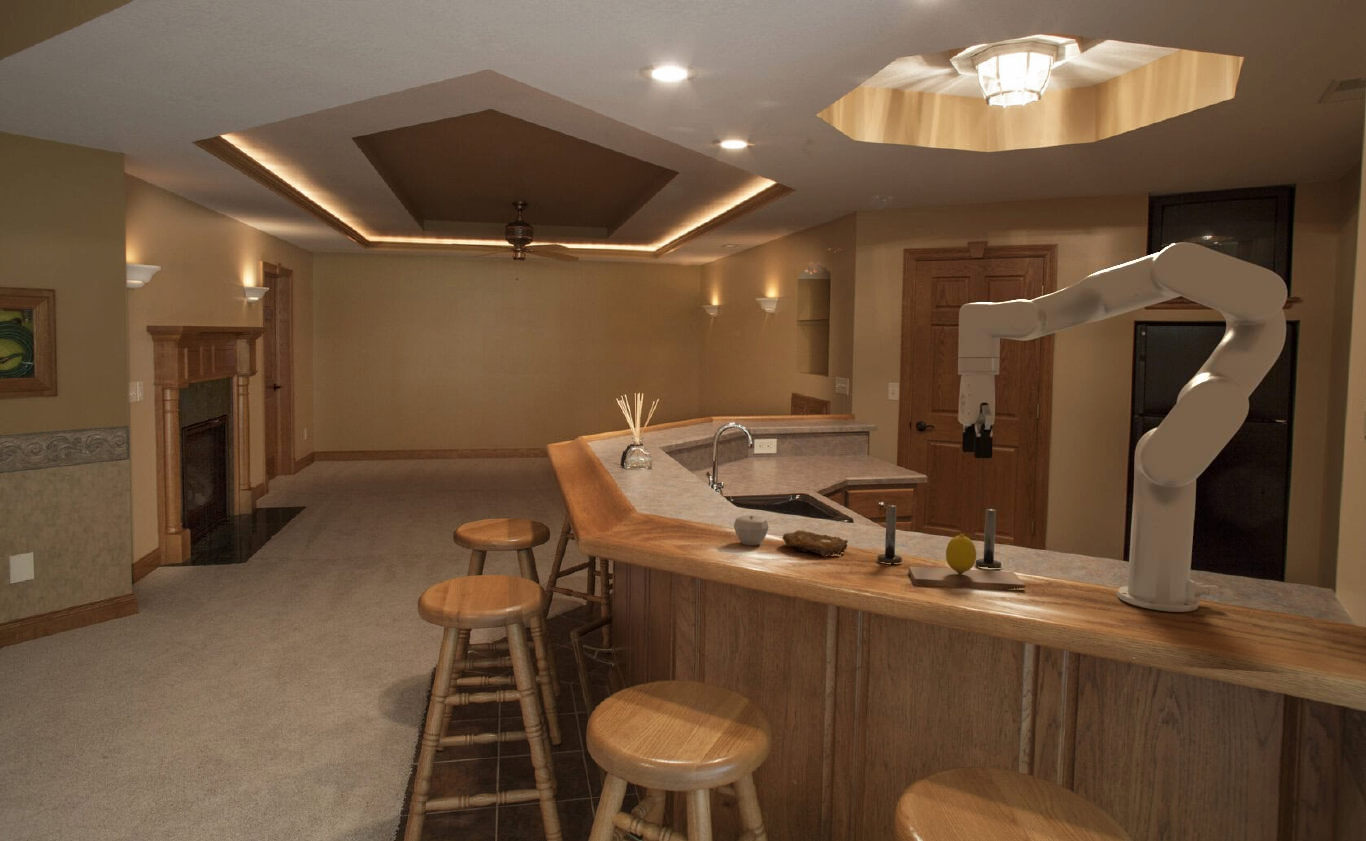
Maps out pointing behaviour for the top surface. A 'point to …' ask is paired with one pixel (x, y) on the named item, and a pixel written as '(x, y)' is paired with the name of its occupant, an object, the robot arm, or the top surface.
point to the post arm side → (989, 542)
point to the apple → (751, 529)
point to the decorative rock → (815, 542)
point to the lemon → (961, 554)
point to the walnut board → (965, 578)
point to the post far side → (890, 537)
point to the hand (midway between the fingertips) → (976, 454)
